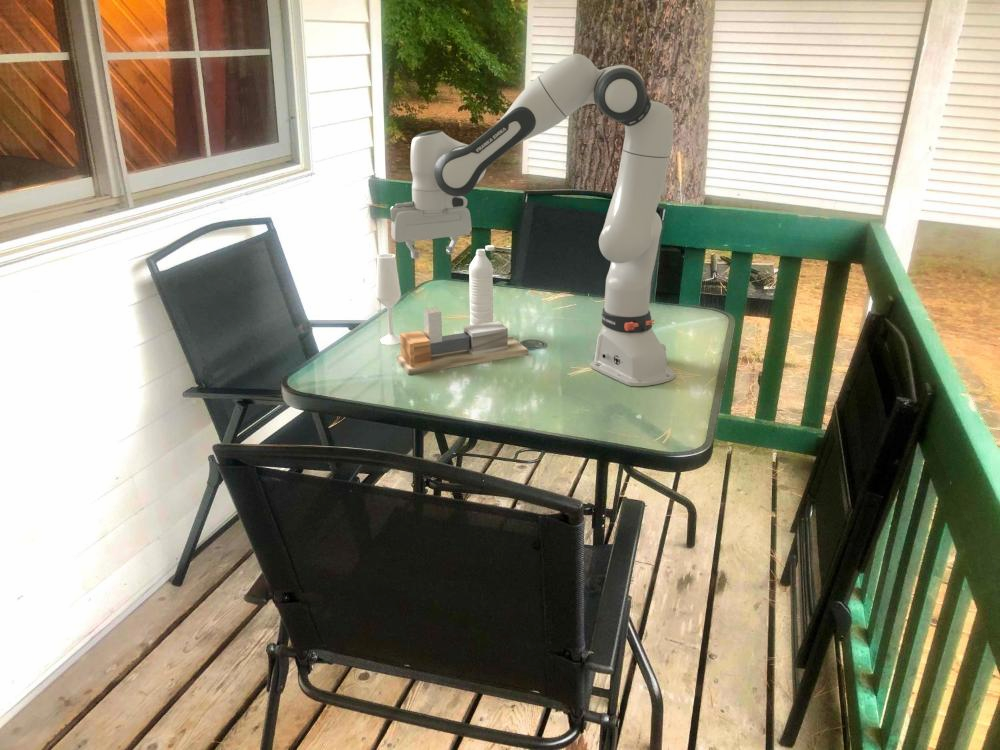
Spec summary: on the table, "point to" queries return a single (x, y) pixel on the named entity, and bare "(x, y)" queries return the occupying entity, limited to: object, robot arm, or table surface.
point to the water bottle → (481, 288)
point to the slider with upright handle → (434, 334)
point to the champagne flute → (388, 291)
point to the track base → (485, 346)
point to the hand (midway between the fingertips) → (432, 255)
